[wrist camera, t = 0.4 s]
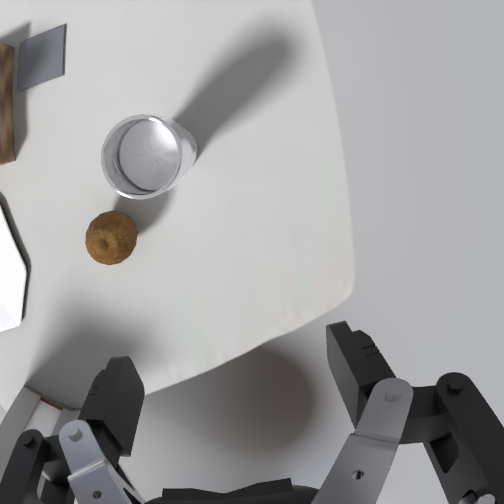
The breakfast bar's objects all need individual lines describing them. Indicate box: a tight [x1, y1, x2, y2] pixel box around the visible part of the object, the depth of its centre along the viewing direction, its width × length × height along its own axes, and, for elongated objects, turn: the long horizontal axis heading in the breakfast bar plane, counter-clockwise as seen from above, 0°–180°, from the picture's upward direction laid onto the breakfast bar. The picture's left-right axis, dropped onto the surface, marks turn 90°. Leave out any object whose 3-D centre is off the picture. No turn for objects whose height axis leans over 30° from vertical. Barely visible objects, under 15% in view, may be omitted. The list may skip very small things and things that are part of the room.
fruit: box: [85, 211, 137, 265], centre depth 35 cm, size 6×6×8 cm
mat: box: [18, 25, 65, 92], centre depth 29 cm, size 8×8×1 cm
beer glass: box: [101, 114, 198, 199], centre depth 29 cm, size 7×7×15 cm
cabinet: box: [0, 385, 81, 499], centre depth 36 cm, size 21×10×28 cm, turn 108°
